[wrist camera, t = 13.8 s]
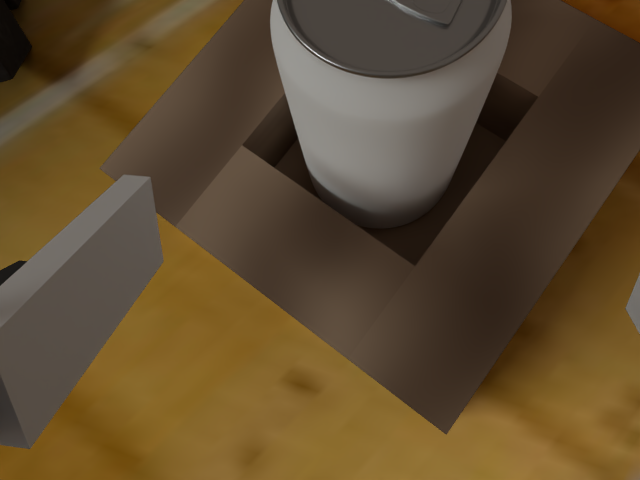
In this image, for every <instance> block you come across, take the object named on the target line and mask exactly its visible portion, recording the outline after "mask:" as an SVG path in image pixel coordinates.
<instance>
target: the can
mask: <svg viewBox="0 0 640 480" xmlns="http://www.w3.org/2000/svg"><path fill="white" fill-rule="evenodd" d="M511 21H512V9H511V0H273V2H272V7H271V14H270V29H271V39H272V45H273V50H274V54H275V58H276V62H277V66H278V69H279V73H280V77H281V80H282V84H283V87H284V91H285V94H286V98H287V101H288V105H289V108H290V112H291V115H292V118H293V122H294V125H295V129H296V132H297V135H298V139H299V142H300V146H301V149H302V152H303V156H304V159H305V162H306V166H307V169H308V172H309V175H310V178H311V181H312V183H313V186H314V188H315V190H316V192H317V194H318V195H319V197H320V198H321V200H322V201H323V202H324V203H325V204H327V205H328V206H330V207H331V208H333V209H334V210H335V211H337V212H338V213H340V214H341V215H343V216H344V217H345V218H347V219H348V220H350V221H351V222H353V223H354V224H356V225H359V226H363V227H367V228H377V229H383V228H393V227H398V226H402V225H405V224H408V223H410V222H413V221H415V220H417V219H418V218H420V217H422V216H423V215H425V214H426V213H427V212H428V211H430V210H431V209H432V208H433V207H434V206H435V205H436V204H437V203H438V201H439V200H440V199H441V197H442V196H443V194H444V193H445V191H446V189H447V187H448V185H449V183H450V181H451V179H452V177H453V174H454V172H455V170H456V168H457V165H458V163H459V161H460V159H461V156H462V154H463V152H464V149H465V147H466V145H467V142H468V140H469V138H470V135H471V133H472V131H473V128H474V126H475V124H476V121H477V119H478V117H479V114H480V112H481V110H482V107H483V105H484V103H485V100H486V98H487V96H488V93H489V91H490V88H491V86H492V84H493V81H494V79H495V76H496V74H497V71H498V69H499V67H500V64H501V61H502V59H503V56H504V53H505V50H506V47H507V43H508V39H509V35H510V29H511Z"/></svg>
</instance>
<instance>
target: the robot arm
mask: <svg viewBox="0 0 640 480" xmlns="http://www.w3.org/2000/svg"><path fill="white" fill-rule="evenodd" d="M162 263H163V255H162V249H161V242H160V235H159V229H158V222H157V216H156V209H155V203H154V196H153V190H152V183H151V177H145V176H134V175H123V176H122V177H121V178H119V179H118V180H117V181H116V182H115V183H114V184H113V185H112V186H111V187H110V188H108V189H107V190H106V191H105V192H104V193H103V194H102V195H101V196H100V197H98V198H97V199H96V200H95V201H94V202H93V203H92V204H91V205H90V206H88V207H87V208H86V209H85V210H84V211H83V212H82V213H81V214H80V215H78V216H77V217H76V218H75V219H74V220H73V221H72V222H71V223H70V224H68V225H67V226H66V227H65V228H64V229H63V230H62V231H61V232H60V233H58V234H57V235H56V236H55V237H54V238H53V239H52V240H51V241H50V242H48V243H47V244H46V245H45V246H44V247H43V248H42V249H41V250H40V251H38V252H37V253H36V254H35V255H34V256H33V257H32V258H31V259H30V260H29V261H18V262H16V263H14V264H12V265H10V266H8V267H6V268H4V269H2V270H0V445H6V446H13V447H20V448H27V449H30V448H31V447H32V445H33V444H34V443H35V441H36V440H37V438H38V437H39V435H40V434H41V433H42V431H43V430H44V428H45V427H46V426H47V424H48V423H49V421H50V420H51V419H52V417H53V416H54V414H55V413H56V412H57V410H58V409H59V407H60V406H61V405H62V403H63V402H64V400H65V399H66V398H67V396H68V395H69V393H70V392H71V391H72V389H73V388H74V386H75V385H76V384H77V382H78V381H79V379H80V378H81V377H82V375H83V374H84V372H85V371H86V370H87V368H88V367H89V365H90V364H91V363H92V361H93V360H94V358H95V357H96V355H97V354H98V353H99V351H100V350H101V348H102V347H103V346H104V344H105V343H106V341H107V340H108V339H109V337H110V336H111V334H112V333H113V332H114V330H115V329H116V327H117V326H118V325H119V323H120V322H121V320H122V319H123V318H124V316H125V315H126V313H127V312H128V311H129V309H130V308H131V306H132V305H133V304H134V302H135V301H136V299H137V298H138V297H139V295H140V294H141V292H142V291H143V290H144V288H145V287H146V285H147V284H148V283H149V281H150V280H151V278H152V277H153V276H154V274H155V273H156V271H157V270H158V268H159V267H160V266H161V264H162ZM625 309H626V310H627V312H628V314H629V316H630V318H631V319H632V321H633V323H634V325H635V326H636V328H637V330H638V332H639V334H640V274H639V276H638V279H637V281H636V284H635V286H634V289H633V291H632V294H631V296H630V298H629V301H628V303H627V306H626V308H625Z"/></svg>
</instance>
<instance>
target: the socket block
mask: <svg viewBox="0 0 640 480" xmlns="http://www.w3.org/2000/svg"><path fill="white" fill-rule="evenodd" d="M272 2H273V0H244V1H243V2H242V4H241V5H240V6H239V7H238V8H237V9H236V10H235V12H234V13H233V14H232V15H231V16H230V17H229V19H228V20H227V21H226V22H225V23H224V24H223V26H222V27H221V28H220V29H219V30H218V31H217V33H216V34H215V35H214V36H213V37H212V38H211V39H210V41H209V42H208V43H207V44H206V45H205V46H204V48H203V49H202V50H201V51H200V52H199V53H198V55H197V56H196V57H195V58H194V59H193V60H192V62H191V63H190V64H189V65H188V66H187V67H186V68H185V70H184V71H183V72H182V73H181V74H180V75H179V77H178V78H177V79H176V80H175V81H174V82H173V84H172V85H171V86H170V87H169V88H168V89H167V91H166V92H165V93H164V94H163V95H162V96H161V97H160V99H159V100H158V101H157V102H156V103H155V104H154V106H153V107H152V108H151V109H150V110H149V111H148V113H147V114H146V115H145V116H144V117H143V118H142V120H141V121H140V122H139V123H138V124H137V125H136V126H135V128H134V129H133V130H132V131H131V132H130V133H129V135H128V136H127V137H126V138H125V139H124V140H123V142H122V143H121V144H120V145H119V146H118V147H117V148H116V150H115V151H114V152H113V153H112V154H111V155H110V157H109V158H108V159H107V160H106V161H105V162H104V164H103V165H102V166H101V167H100V169H101V170H102V171H103V172H105V173H106V174H107V175H109V176H110V177H111V178H113V179H114V180H115V181H117V180H118V179H119V178H121V177H122V176H123V175H134V176H145V177H151V183H152V190H153V196H154V203H155V209H156V212H157V213H158V214H159V215H161V216H162V217H163V218H165V219H166V220H167V221H169V222H170V223H171V224H172V225H174V226H175V227H176V228H178V229H179V230H180V231H182V232H183V233H184V234H186V235H187V236H188V237H189V238H191V239H192V240H193V241H195V242H196V243H197V244H199V245H200V246H201V247H202V248H204V249H205V250H206V251H208V252H209V253H210V254H212V255H213V256H214V257H215V258H217V259H218V260H219V261H221V262H222V263H223V264H225V265H226V266H227V267H229V268H230V269H231V270H232V271H234V272H235V273H236V274H238V275H239V276H240V277H242V278H243V279H244V280H245V281H247V282H248V283H249V284H251V285H252V286H253V287H255V288H256V289H257V290H258V291H260V292H261V293H262V294H264V295H265V296H266V297H268V298H269V299H270V300H272V301H273V302H274V303H275V304H277V305H278V306H279V307H281V308H282V309H283V310H285V311H286V312H287V313H288V314H290V315H291V316H292V317H294V318H295V319H296V320H298V321H299V322H300V323H301V324H303V325H304V326H305V327H307V328H308V329H309V330H311V331H312V332H313V333H315V334H316V335H317V336H318V337H320V338H321V339H322V340H324V341H325V342H326V343H328V344H329V345H330V346H331V347H333V348H334V349H335V350H337V351H338V352H339V353H341V354H342V355H343V356H344V357H346V358H347V359H348V360H350V361H351V362H352V363H354V364H355V365H356V366H358V367H359V368H360V369H361V370H363V371H364V372H365V373H367V374H368V375H369V376H371V377H372V378H373V379H374V380H376V381H377V382H378V383H380V384H381V385H382V386H384V387H385V388H386V389H387V390H389V391H390V392H391V393H393V394H394V395H395V396H397V397H398V398H399V399H401V400H402V401H403V402H404V403H406V404H407V405H408V406H410V407H411V408H412V409H414V410H415V411H416V412H417V413H419V414H420V415H421V416H423V417H424V418H425V419H427V420H428V421H429V422H430V423H432V424H433V425H434V426H436V427H437V428H438V429H440V430H441V431H442V432H444V433H445V434H447V433H448V431H449V430H450V428H451V427H452V425H453V424H454V423H455V421H456V420H457V418H458V417H459V415H460V414H461V412H462V411H463V409H464V408H465V406H466V405H467V403H468V402H469V400H470V399H471V398H472V396H473V395H474V393H475V392H476V390H477V389H478V387H479V386H480V384H481V383H482V381H483V380H484V378H485V377H486V375H487V374H488V372H489V371H490V370H491V368H492V367H493V365H494V364H495V362H496V361H497V359H498V358H499V356H500V355H501V353H502V352H503V350H504V349H505V347H506V346H507V345H508V343H509V342H510V340H511V339H512V337H513V336H514V334H515V333H516V331H517V330H518V328H519V327H520V325H521V324H522V322H523V321H524V319H525V318H526V317H527V315H528V314H529V312H530V311H531V309H532V308H533V306H534V305H535V303H536V302H537V300H538V299H539V297H540V296H541V294H542V293H543V292H544V290H545V289H546V287H547V286H548V284H549V283H550V281H551V280H552V278H553V277H554V275H555V274H556V272H557V271H558V269H559V268H560V266H561V265H562V264H563V262H564V261H565V259H566V258H567V256H568V255H569V253H570V252H571V250H572V249H573V247H574V246H575V244H576V243H577V241H578V240H579V239H580V237H581V236H582V234H583V233H584V231H585V230H586V228H587V227H588V225H589V224H590V222H591V221H592V219H593V218H594V216H595V215H596V213H597V212H598V211H599V209H600V208H601V206H602V205H603V203H604V202H605V200H606V199H607V197H608V196H609V194H610V193H611V191H612V190H613V188H614V187H615V186H616V184H617V183H618V181H619V180H620V178H621V177H622V175H623V174H624V172H625V171H626V169H627V168H628V166H629V165H630V163H631V162H632V160H633V159H634V158H635V156H636V155H637V153H638V152H639V150H640V43H639V42H637V41H635V40H633V39H631V38H629V37H628V36H626V35H624V34H622V33H620V32H618V31H616V30H615V29H613V28H611V27H609V26H607V25H605V24H603V23H602V22H600V21H598V20H596V19H594V18H592V17H590V16H589V15H587V14H585V13H583V12H581V11H579V10H577V9H576V8H574V7H572V6H570V5H568V4H566V3H564V2H563V1H561V0H511V9H512V21H511V29H510V35H509V39H508V43H507V47H506V50H505V53H504V56H503V59H502V61H501V64H500V67H499V69H498V71H497V74H496V76H495V79H494V81H493V84H492V86H491V88H490V91H489V93H488V96H487V98H486V100H485V103H484V105H483V107H482V110H481V112H480V114H479V117H478V119H477V121H476V124H475V126H474V128H473V131H472V133H471V135H470V138H469V140H468V142H467V145H466V147H465V149H464V152H463V154H462V156H461V159H460V161H459V163H458V165H457V168H456V170H455V172H454V174H453V177H452V179H451V181H450V183H449V185H448V187H447V189H446V191H445V193H444V194H443V196H442V197H441V199H440V200H439V201H438V203H437V204H436V205H435V206H434V207H433V208H432V209H431V210H430V211H428V212H427V213H426V214H425V215H423V216H422V217H420V218H418V219H417V220H415V221H413V222H410V223H408V224H405V225H402V226H398V227H393V228H383V229H377V228H367V227H363V226H359V225H356V224H354V223H353V222H351V221H350V220H348V219H347V218H345V217H344V216H343V215H341V214H340V213H338V212H337V211H335V210H334V209H333V208H331V207H330V206H328V205H327V204H325V203H324V202H323V201H322V200H321V198H320V197H319V195H318V194H317V192H316V190H315V188H314V186H313V183H312V181H311V178H310V175H309V172H308V169H307V166H306V162H305V159H304V156H303V152H302V149H301V146H300V142H299V139H298V135H297V132H296V129H295V125H294V122H293V118H292V115H291V112H290V108H289V105H288V101H287V98H286V94H285V91H284V87H283V84H282V80H281V77H280V73H279V69H278V66H277V62H276V58H275V54H274V50H273V45H272V39H271V29H270V14H271V7H272Z"/></svg>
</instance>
